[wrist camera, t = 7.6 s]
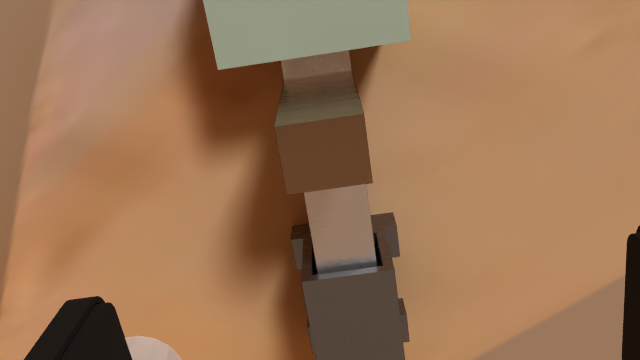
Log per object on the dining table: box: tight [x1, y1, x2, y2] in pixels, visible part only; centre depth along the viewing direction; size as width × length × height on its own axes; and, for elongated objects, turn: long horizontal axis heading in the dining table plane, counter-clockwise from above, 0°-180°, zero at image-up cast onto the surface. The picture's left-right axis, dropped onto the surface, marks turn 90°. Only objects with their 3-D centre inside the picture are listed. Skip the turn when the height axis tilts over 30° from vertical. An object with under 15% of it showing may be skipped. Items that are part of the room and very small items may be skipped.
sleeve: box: [291, 213, 409, 360], centre depth 33 cm, size 6×8×6 cm
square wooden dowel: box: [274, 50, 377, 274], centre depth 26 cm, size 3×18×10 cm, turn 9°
